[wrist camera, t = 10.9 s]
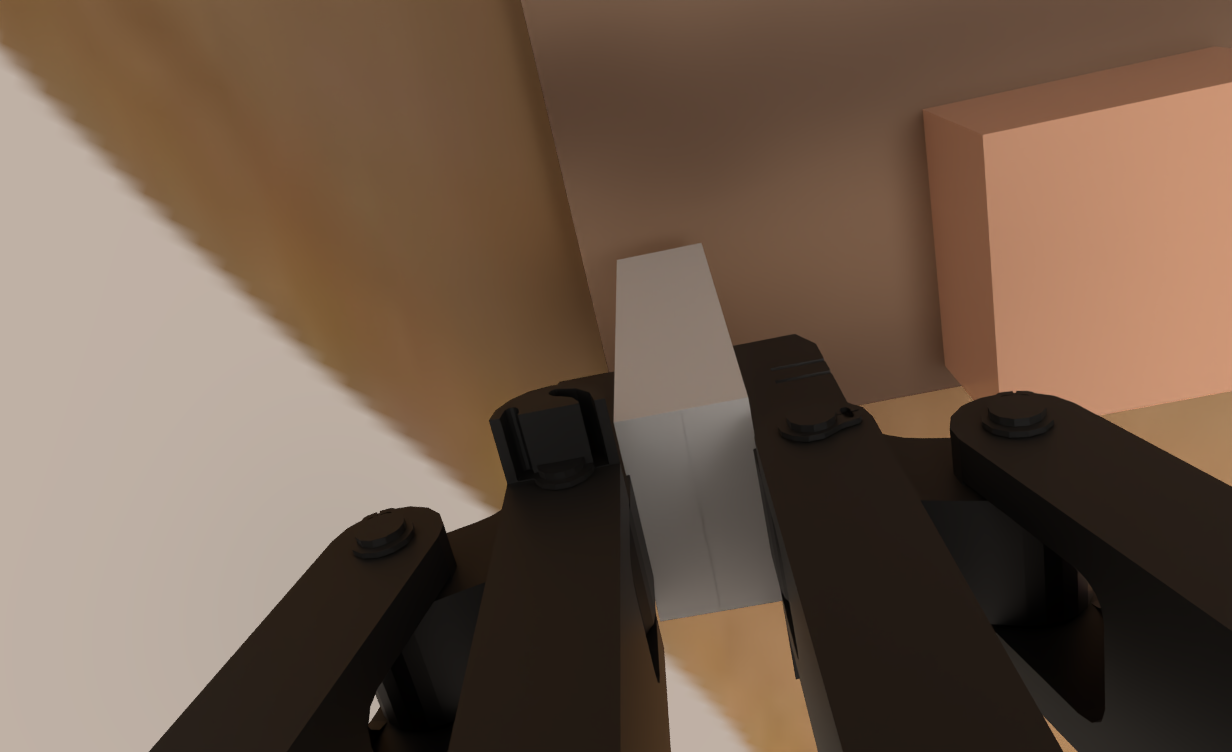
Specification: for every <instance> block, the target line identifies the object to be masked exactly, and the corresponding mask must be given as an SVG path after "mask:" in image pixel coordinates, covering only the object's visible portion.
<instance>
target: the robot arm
mask: <svg viewBox="0 0 1232 752" xmlns="http://www.w3.org/2000/svg"><path fill="white" fill-rule="evenodd" d="M489 422H490V426H491V429H492V433H493V436H494V439H495V443H496V446H497V450H498V453H499V457H500V460H501V463H502V467H503V470H504V474H505V477H506V481H507V489H506V493H505V498H504V502H503V507H502V510H501V511H499V512H497V513H496V514H494V515H492V516H490V517H488V518H485V519H483V520H481V521H479V522H476V523H473V524H471V525H468V526H465V527H462V528H460V529H457V530H454V531H452V532H449V533H446V531H445V527H444V524H443V522H442V519H441V516H440V514H439V513H437V512H435V511H433V510H431V509H429V508H425V507H411V506H410V507H404V508H397V509H394V508H390V509H386V510H382V511H380V513H379V514H377V513H374V514H371V515H368V516H366V517H365V518H363V520H362V521H360V522H358V523H356V524H355V525H353V526H351V527H349V528H347V529H346V530H345V531H344V532H343V533H341V534H340V535H339V536H338V537H337V538H336V539H334V541H332V542H331V543H330V545H329V546H328V547H327V548H326V549H325V550H324V551H323V553H322V554H321V555H320V556H319V557H318V558H317V559H316V561H315V562H314V563H313V564H312V565H311V566H310V568H309V569H308V570H307V571H306V572H305V573H304V574H303V576H302V577H301V578H300V579H299V580H298V581H297V582H296V584H295V585H294V586H293V587H292V588H291V589H290V590H289V592H288V593H287V594H286V595H285V596H284V598H283V599H282V600H281V601H280V602H279V603H278V604H277V605H276V607H275V608H274V609H273V610H272V611H271V612H270V614H269V615H268V616H267V617H266V618H265V619H264V620H263V621H262V623H261V624H260V625H259V626H258V627H257V628H256V629H255V631H254V632H253V633H252V634H251V635H250V636H249V637H248V639H247V640H246V641H245V642H244V643H243V644H242V645H241V647H240V648H239V649H238V650H237V651H236V652H235V654H234V655H233V656H232V657H231V658H230V659H229V660H228V662H227V663H226V664H225V665H224V666H223V667H222V668H221V670H220V671H219V672H218V673H217V674H216V675H215V676H214V678H213V679H212V680H211V681H210V682H209V683H208V684H207V686H206V687H205V688H204V689H203V690H202V691H201V693H200V694H199V695H198V696H197V697H196V698H195V699H194V701H193V702H192V703H191V704H190V705H189V706H188V708H187V709H186V710H185V711H184V712H183V713H182V715H180V717H179V718H178V719H177V720H176V721H175V722H174V724H173V725H172V726H171V727H170V728H169V729H168V730H167V732H166V733H165V734H164V735H163V736H162V737H161V738H160V740H159V741H158V742H157V743H156V744H155V745H154V746H153V748H152V749H151V750H150V751H149V752H671V748H670V732H669V718H668V702H667V689H666V688H667V687H666V672H665V657H664V646H663V642H662V638H661V634H660V629H659V625H658V621H657V617H656V610H655V601H656V605H657V609H658V614H659V618H660V621H666V620H672V619H678V618H683V617H689V616H695V615H701V614H707V613H713V612H719V611H725V610H731V609H737V608H743V607H749V606H755V605H760V604H766V603H772V602H778V601H782V602H783V607H784V613H785V619H786V625H787V631H788V636H789V642H790V648H791V654H792V660H793V665H794V671H795V677H796V679H800V681H801V685H802V689H803V693H804V697H805V701H806V705H807V709H808V713H809V717H810V721H811V725H812V729H813V733H814V737H815V741H816V745H817V749H818V752H1063V751H1062V749H1061V747H1060V745H1059V743H1058V742H1057V740H1056V738H1055V736H1054V735H1053V733H1052V731H1051V729H1050V728H1049V726H1048V724H1047V722H1046V721H1045V719H1044V717H1045V718H1046V719H1047V720H1048V721H1049V722H1050V723H1051V724H1052V725H1053V726H1054V727H1055V728H1056V730H1057V731H1058V732H1059V733H1060V734H1061V735H1062V736H1063V737H1064V738H1065V739H1066V740H1067V741H1068V742H1069V743H1070V744H1071V745H1072V746H1073V747H1074V748H1075V749H1076V750H1077V751H1078V752H1232V487H1231V486H1229V485H1228V484H1226V483H1224V482H1222V481H1220V480H1218V479H1216V478H1214V477H1213V476H1211V475H1209V474H1207V473H1205V472H1203V471H1201V470H1199V469H1198V468H1196V467H1194V466H1192V465H1190V464H1188V463H1186V462H1184V461H1183V460H1181V459H1179V458H1177V457H1175V456H1173V455H1171V454H1169V453H1168V452H1166V451H1164V450H1162V449H1160V448H1158V447H1156V446H1154V445H1153V444H1151V443H1149V442H1147V441H1145V440H1143V439H1141V438H1139V437H1138V436H1136V435H1134V434H1132V433H1130V432H1128V431H1126V430H1124V429H1123V428H1121V427H1119V426H1117V425H1115V424H1113V423H1111V422H1109V421H1108V420H1106V419H1104V418H1102V417H1100V416H1098V415H1096V414H1094V413H1093V412H1091V411H1089V410H1087V409H1085V408H1083V407H1081V406H1079V405H1078V404H1076V403H1074V402H1071V401H1068V400H1065V399H1062V398H1060V397H1057V396H1053V395H1046V394H1038V393H1034V392H1031V391H1016V393H1013V391H1007V392H1000V393H997V394H996V395H992V396H987V397H982V398H979V399H977V400H974V401H972V402H970V403H967V404H965V405H963V406H961V407H960V408H959V409H958V410H957V411H956V412H955V413H954V414H953V415H952V416H951V422H950V436H951V438H902V437H896V436H890V435H885V434H882V432H881V430H880V429H879V427H878V425H877V423H876V422H875V420H874V418H873V416H872V415H871V414H870V413H868V412H867V411H866V410H865V409H864V408H863V407H860V406H857V405H854V404H851V403H848V402H847V400H846V399H845V397H844V395H843V393H842V391H841V389H840V387H839V385H838V384H837V382H836V380H835V378H834V376H833V374H832V373H831V371H830V369H829V367H828V365H827V363H826V361H824V357H823V356H822V354H821V352H820V350H819V348H818V346H817V344H816V343H814V342H811V341H809V340H807V339H805V338H803V337H801V336H799V335H797V334H791V335H786V336H781V337H776V338H771V339H765V340H760V341H755V342H750V343H745V344H740V345H734V346H732V342H731V339H730V336H729V332H728V329H727V326H726V323H725V319H724V316H723V313H722V309H721V306H720V303H719V299H718V296H717V293H716V289H715V286H714V283H713V280H712V276H711V273H710V270H709V266H708V263H707V260H706V256H705V253H704V250H703V247H702V243H698V244H693V245H688V246H683V247H678V248H674V249H669V250H664V251H659V252H654V253H649V254H644V255H639V256H634V257H629V258H624V259H619V260H617V279H616V328H615V371H614V372H608V373H603V374H598V375H593V376H588V377H582V378H577V379H572V380H567V381H562V382H559V383H558V384H557V385H553V386H548V387H544V388H541V389H537V390H533V391H530V392H527V393H525V394H523V395H521V396H518V397H516V398H514V399H512V400H510V401H508V402H507V403H505V404H504V405H503V406H501V407H500V408H498V409H497V410H496V411H495V412H494V414H493V415H492V417H491V418H490V420H489ZM375 694H376V697H377V699H378V702H379V704H380V708H379V709H378V711H377V713H376V714H375V716H374V717H373V719H372V721H371V722H370V723H369V724H368V722H369V714H370V706H371V703H372V701H373V699H374V696H375ZM1043 716H1044V717H1043Z"/></svg>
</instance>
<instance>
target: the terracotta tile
mask: <svg viewBox="0 0 1232 752" xmlns="http://www.w3.org/2000/svg"><path fill="white" fill-rule="evenodd" d="M923 119H924V131H925V142H926V154H927V165H928V177H929V188H930V200H931V211H932V222H933V234H934V245H935V257H936V268H937V280H938V291H939V303H940V314H941V326H942V337H943V349H944V360H945V366H946V368H947V369H948V370H949V371H950V372H951V374H952V375H953V376H954V377H955V378H956V380H957V381H958V382H959V383H960V384H961V385H962V387H963V388H964V389H965V390H966V391H967V393H968V394H969V395H970V396H971V397H972V399H973V400H977V399H979V398H982V397H987V396H992V395H996V394H997V393H1000V392H1007V391H1013V393H1016V391H1031V392H1034V393H1038V394H1046V395H1053V396H1057V397H1060V398H1062V399H1065V400H1068V401H1071V402H1074V403H1076V404H1078V405H1079V406H1081V407H1083V408H1085V409H1087V410H1089V411H1091V412H1093V413H1094V414H1096V415H1098V416H1099V415H1104V414H1110V413H1115V412H1121V411H1126V410H1131V409H1137V408H1142V407H1148V406H1153V405H1159V404H1164V403H1169V402H1175V401H1180V400H1186V399H1191V398H1196V397H1202V396H1207V395H1213V394H1218V393H1224V392H1229V391H1232V48H1225V47H1216V46H1215V47H1210V48H1205V49H1201V50H1196V51H1191V52H1187V53H1182V54H1177V55H1173V56H1168V57H1164V58H1159V59H1154V60H1150V61H1145V62H1140V63H1136V64H1131V65H1126V66H1122V67H1117V68H1113V69H1108V70H1103V71H1099V72H1094V73H1089V74H1085V75H1080V76H1075V77H1071V78H1066V79H1062V80H1057V81H1052V82H1048V83H1043V84H1038V85H1034V86H1029V87H1024V88H1020V89H1015V90H1011V91H1006V92H1001V93H997V94H992V95H987V96H983V97H978V98H973V99H969V100H964V101H960V102H955V103H950V104H946V105H941V106H936V107H932V108H927V109H923Z"/></svg>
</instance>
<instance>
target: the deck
mask: <svg viewBox="0 0 1232 752" xmlns="http://www.w3.org/2000/svg"><path fill="white" fill-rule="evenodd" d="M521 4H522V8H523V12H524V16H525V21H526V25H527V29H528V33H529V37H530V42H531V46H532V50H533V54H534V59H535V63H536V67H537V71H538V75H539V80H540V84H541V88H542V92H543V97H544V101H545V105H546V109H547V113H548V118H549V122H550V126H551V130H552V135H553V139H554V143H555V147H556V151H557V156H558V160H559V164H560V168H561V173H562V177H563V181H564V185H565V189H566V194H567V198H568V202H569V206H570V211H571V215H572V219H573V223H574V227H575V232H576V236H577V240H578V244H579V249H580V253H581V257H582V261H583V265H584V270H585V274H586V278H587V282H588V287H589V291H590V295H591V299H592V303H593V308H594V312H595V316H596V320H597V325H598V329H599V333H600V337H601V341H602V346H603V350H604V354H605V358H606V363H607V367H608V371H609V372H614V371H615V328H616V279H617V260H619V259H624V258H629V257H634V256H639V255H644V254H649V253H654V252H659V251H664V250H669V249H674V248H678V247H683V246H688V245H693V244H698V243H702V247H703V250H704V253H705V256H706V260H707V263H708V266H709V270H710V273H711V276H712V280H713V283H714V286H715V289H716V293H717V296H718V299H719V303H720V306H721V309H722V313H723V316H724V319H725V323H726V326H727V329H728V332H729V336H730V339H731V342H732V346H734V345H740V344H745V343H750V342H755V341H760V340H765V339H771V338H776V337H781V336H786V335H791V334H797V335H799V336H801V337H803V338H805V339H807V340H809V341H811V342H814V343H816V344H817V346H818V348H819V350H820V352H821V354H822V356H823V357H824V361H826V363H827V365H828V367H829V369H830V371H831V373H832V374H833V376H834V378H835V380H836V382H837V384H838V385H839V387H840V389H841V391H842V393H843V395H844V397H845V399H846V400H847V402H848V403H851V404H854V405H857V406H858V405H863V404H868V403H873V402H879V401H884V400H889V399H895V398H900V397H905V396H910V395H916V394H921V393H926V392H932V391H937V390H942V389H947V388H953V387H958V386H962V385H961V384H960V383H959V382H958V381H957V380H956V378H955V377H954V376H953V375H952V374H951V372H950V371H949V370H948V369H947V368H946V366H945V360H944V349H943V337H942V326H941V314H940V303H939V291H938V280H937V268H936V257H935V245H934V234H933V222H932V211H931V200H930V188H929V177H928V165H927V154H926V142H925V131H924V119H923V109H927V108H932V107H936V106H941V105H946V104H950V103H955V102H960V101H964V100H969V99H973V98H978V97H983V96H987V95H992V94H997V93H1001V92H1006V91H1011V90H1015V89H1020V88H1024V87H1029V86H1034V85H1038V84H1043V83H1048V82H1052V81H1057V80H1062V79H1066V78H1071V77H1075V76H1080V75H1085V74H1089V73H1094V72H1099V71H1103V70H1108V69H1113V68H1117V67H1122V66H1126V65H1131V64H1136V63H1140V62H1145V61H1150V60H1154V59H1159V58H1164V57H1168V56H1173V55H1177V54H1182V53H1187V52H1191V51H1196V50H1201V49H1205V48H1210V47H1215V46H1216V47H1225V48H1232V0H521Z"/></svg>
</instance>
